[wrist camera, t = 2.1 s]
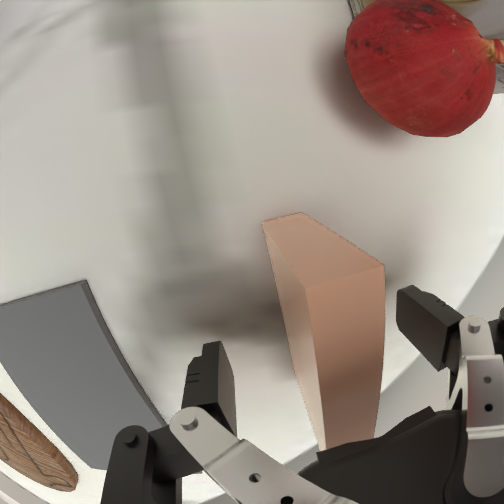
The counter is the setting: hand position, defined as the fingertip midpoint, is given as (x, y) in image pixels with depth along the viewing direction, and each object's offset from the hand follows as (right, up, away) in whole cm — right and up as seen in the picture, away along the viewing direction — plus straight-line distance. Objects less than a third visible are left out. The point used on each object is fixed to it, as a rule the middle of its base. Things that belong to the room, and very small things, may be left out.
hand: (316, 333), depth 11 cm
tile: (0, +1, +2) cm, 2 cm away
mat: (-15, -8, +3) cm, 17 cm away
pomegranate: (+3, +12, -1) cm, 12 cm away
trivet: (-35, -19, +5) cm, 40 cm away
